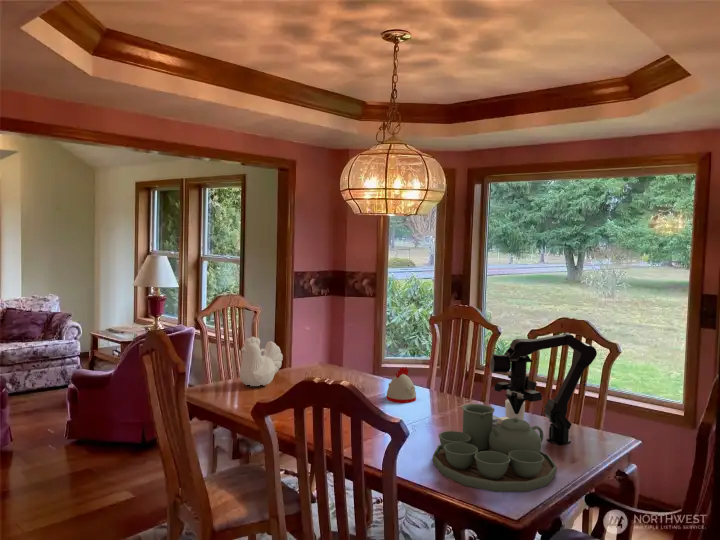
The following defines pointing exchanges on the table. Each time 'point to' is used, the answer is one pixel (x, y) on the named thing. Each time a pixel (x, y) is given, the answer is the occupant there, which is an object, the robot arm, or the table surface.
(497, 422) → the white key
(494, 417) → the slate blue key
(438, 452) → the tea set
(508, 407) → the white cup
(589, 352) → the robot arm
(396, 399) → the chicken tea cozy
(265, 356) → the decorative rooster
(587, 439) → the table surface
